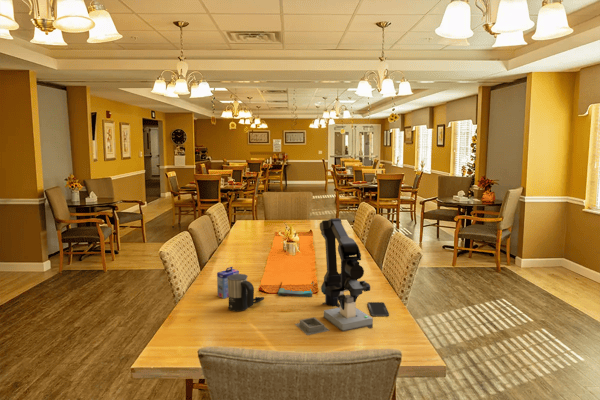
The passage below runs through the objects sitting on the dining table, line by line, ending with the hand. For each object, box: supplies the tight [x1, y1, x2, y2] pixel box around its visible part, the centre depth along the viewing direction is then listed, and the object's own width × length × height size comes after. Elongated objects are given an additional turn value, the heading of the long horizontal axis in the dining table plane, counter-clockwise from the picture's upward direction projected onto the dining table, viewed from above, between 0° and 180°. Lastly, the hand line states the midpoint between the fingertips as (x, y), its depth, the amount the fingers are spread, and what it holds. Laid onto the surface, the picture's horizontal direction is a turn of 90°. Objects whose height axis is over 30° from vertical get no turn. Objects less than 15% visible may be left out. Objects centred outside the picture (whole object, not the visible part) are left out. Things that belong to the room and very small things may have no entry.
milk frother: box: [227, 273, 265, 312], centre depth 207 cm, size 14×16×15 cm
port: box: [323, 307, 374, 332], centre depth 188 cm, size 16×14×4 cm
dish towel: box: [277, 283, 314, 298], centre depth 231 cm, size 17×23×2 cm
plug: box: [339, 294, 357, 318], centre depth 187 cm, size 6×4×8 cm, turn 25°
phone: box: [367, 301, 390, 317], centre depth 202 cm, size 8×1×15 cm
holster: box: [294, 316, 330, 336], centre depth 182 cm, size 12×10×3 cm
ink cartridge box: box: [216, 266, 240, 300], centre depth 222 cm, size 10×6×14 cm, turn 137°
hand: (347, 308), depth 187 cm, fingers closed on plug, 4 cm apart
